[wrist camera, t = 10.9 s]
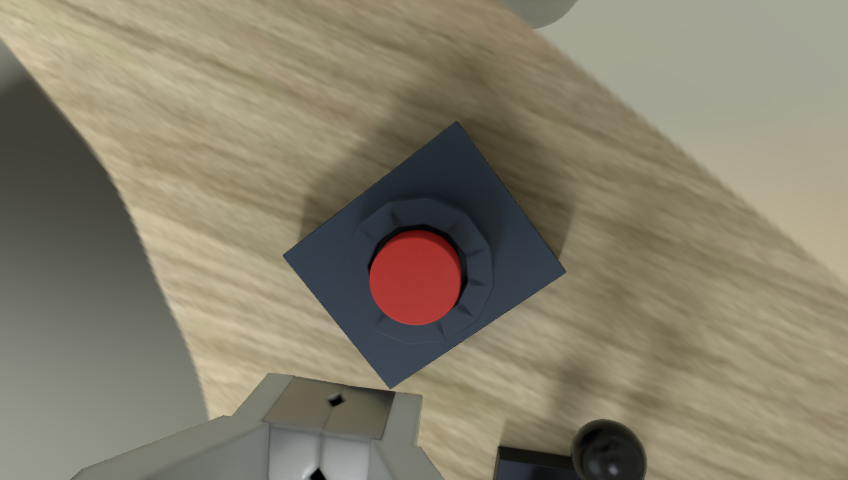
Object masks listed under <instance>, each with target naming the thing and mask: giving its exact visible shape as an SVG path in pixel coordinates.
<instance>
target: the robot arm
mask: <svg viewBox="0 0 848 480" xmlns="http://www.w3.org/2000/svg"><path fill="white" fill-rule="evenodd" d="M422 399H423V397H422V395H419V394H410V393H401V392H395V391H387V390H379V389H371V388H363V387H355V386H347V385H344V384H338V383H332V382H326V381H321V380H315V379H309V378H303V377H296V376H294V375H286V374H279V373H268V374H267V375H266V376H265V378H264V379H263V380H262V381H261V382H260V383H259V385H258V386H257V387H256V388H255V389H254V390H253V392H252V393H251V394H250V395H249V396H248V397H247V399H246V400H245V401H244V402H243V403H242V405H241V406H240V407H239V408H238V409H237V410H236V412H235V413H234V414H233V415H232V416H231V417H230V416H224V415H223V416H221V417H218V418H215V419H213V420H210V421H207V422H205V423H202V424H200V425H197V426H194V427H192V428H189V429H186V430H184V431H181V432H179V433H176V434H174V435H171V436H168V437H166V438H163V439H160V440H158V441H155V442H152V443H150V444H147V445H144V446H142V447H139V448H136V449H134V450H131V451H129V452H126V453H123V454H121V455H118V456H115V457H113V458H110V459H108V460H105V461H102V462H99V463H97V464H94V465H92V466H89V467H86V468H84V469H82V470H81V471H79V472H78V473H77V474H76V475H75V476H74V477H72V478H71V479H70V480H445V479H444V478H443V476H442V475H441V474H440V472H439V471H438V470H437V468H436V467H435V466H434V464H433V463H432V462H431V460H430V459H429V457H428V456H427V455H426V453H425V452H424V451H423V449H422V448H421V447H418V446H417V441H418V433H419V425H420V417H421V409H422Z"/></svg>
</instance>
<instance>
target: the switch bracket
mask: <svg viewBox="0 0 848 480" xmlns="http://www.w3.org/2000/svg"><path fill="white" fill-rule="evenodd" d="M493 480H580V479H579V478H578V476H577V475H576V473H575V471H574V468H573V466H572V462H571V457H566V456H559V455H553V454H546V453H539V452H533V451H526V450H520V449H513V448H507V447H500V446H499V447H498V452H497V458H496V464H495V470H494V476H493Z"/></svg>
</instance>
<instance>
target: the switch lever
mask: <svg viewBox="0 0 848 480" xmlns="http://www.w3.org/2000/svg"><path fill="white" fill-rule="evenodd" d="M570 455H571V462H572V466H573V468H574V471H575V473H576V475H577V476H578V478H579V479H580V480H644V477H645V475H646V470H647V458H646V453H645V450H644V447H643V445H642V443H641V441H640V440H639V438H638V437H637V436H636V435H635V434H634V433H633V431H631V430H630V429H629V428H628V427H626V426H625V425H623V424H621V423H619V422H616V421H613V420H607V419H599V420H594V421H591V422H589V423H587V424H585V425H584V426H582V427H581V428H580V429H579V430H578V432H577V433H576V434H575V436H574V438H573V441H572V444H571V450H570Z"/></svg>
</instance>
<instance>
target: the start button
mask: <svg viewBox="0 0 848 480" xmlns="http://www.w3.org/2000/svg"><path fill="white" fill-rule="evenodd" d="M369 283H370V289H371V293H372V296H373V298H374V300H375V302H376V303H377V305H378V306H379V308H380V309H381V310H382V311H383V312H384V313H385V314H386V315H388V316H389V317H391V318H392V319H394V320H396V321H398V322H401V323H404V324H409V325H424V324H428V323H432V322H434V321H437V320H438V319H440V318H442V317H443V316H444V315H446V314H447V313H448V312H449V311H450V310H451V308H452V307H453V306H454V304H455V302H456V301H457V298H458V296H459V292H460V285H461V265H460V261H459V258H458V255H457V253H456V251H455V250H454V248H453V247H452V246H451V245H450V243H449V242H447V241H446V240H445V239H444V238H442V237H441V236H439V235H437V234H435V233H432V232H430V231H425V230H410V231H406V232H402V233H400V234H398V235H396V236H395V237H393V238H392V239H390V240H389V241H388V242H387V243H386V244H385V245H384V247H383V248H382V249H381V251H380V252H379V253H378V255H377V256H376V258H375V259H374V261H373V264H372V266H371V270H370V277H369Z"/></svg>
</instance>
